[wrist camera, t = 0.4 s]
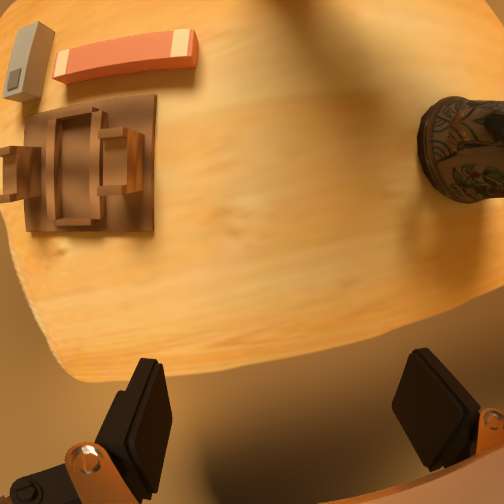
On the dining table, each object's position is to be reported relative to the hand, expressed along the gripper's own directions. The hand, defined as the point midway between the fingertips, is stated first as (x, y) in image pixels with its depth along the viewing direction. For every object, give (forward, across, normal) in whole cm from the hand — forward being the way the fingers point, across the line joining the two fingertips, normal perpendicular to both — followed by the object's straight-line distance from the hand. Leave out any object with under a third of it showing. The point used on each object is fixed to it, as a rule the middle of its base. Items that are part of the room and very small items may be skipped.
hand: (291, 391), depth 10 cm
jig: (+30, +24, -9) cm, 40 cm away
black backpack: (+31, -30, -13) cm, 45 cm away
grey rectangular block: (+31, +35, -27) cm, 54 cm away
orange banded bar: (+31, +18, -24) cm, 43 cm away
